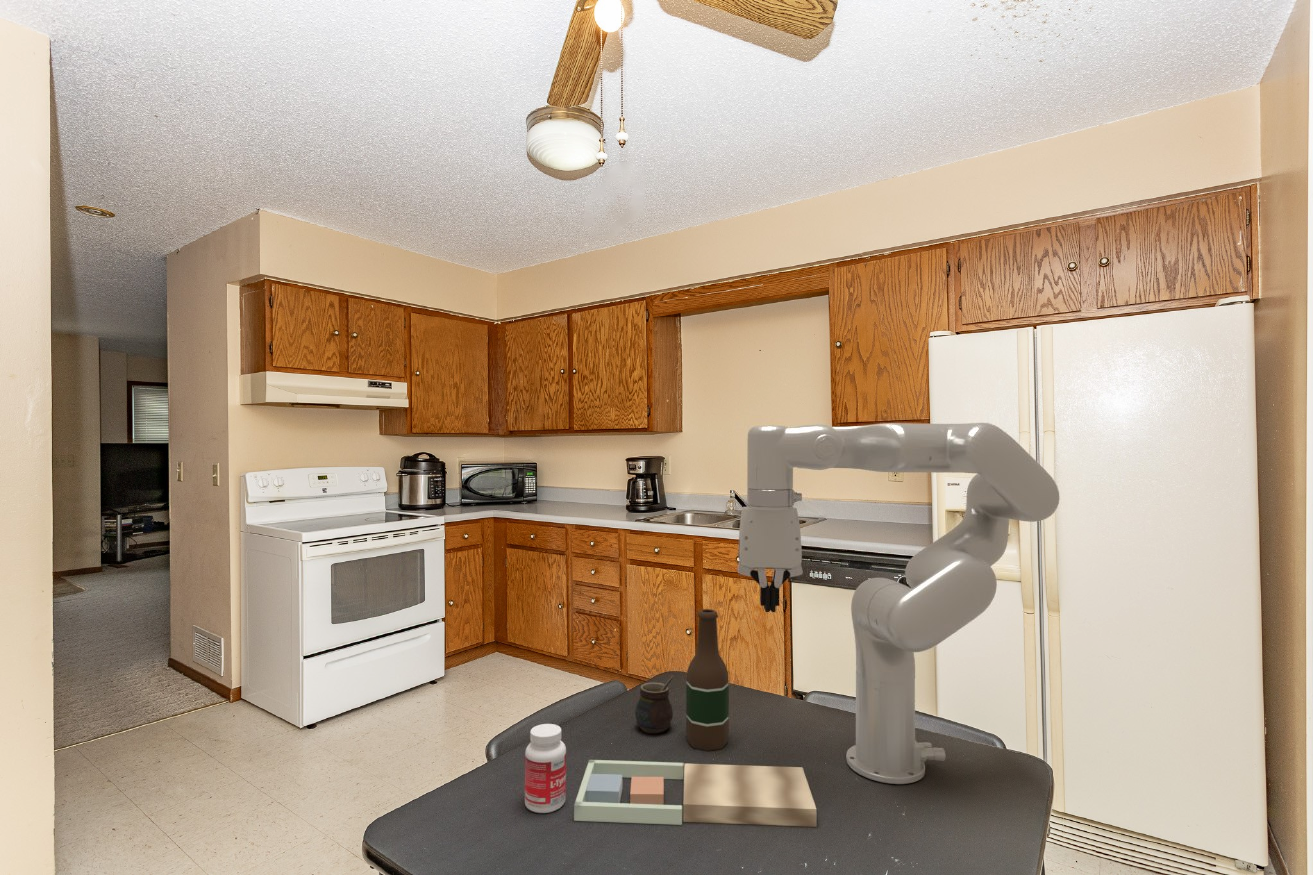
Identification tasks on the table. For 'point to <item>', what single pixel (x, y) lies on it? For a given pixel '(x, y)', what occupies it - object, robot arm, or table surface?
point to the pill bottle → (545, 769)
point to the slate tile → (604, 788)
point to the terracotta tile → (647, 790)
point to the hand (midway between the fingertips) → (769, 609)
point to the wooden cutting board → (747, 795)
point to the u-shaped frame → (625, 810)
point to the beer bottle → (707, 689)
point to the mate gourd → (654, 707)
